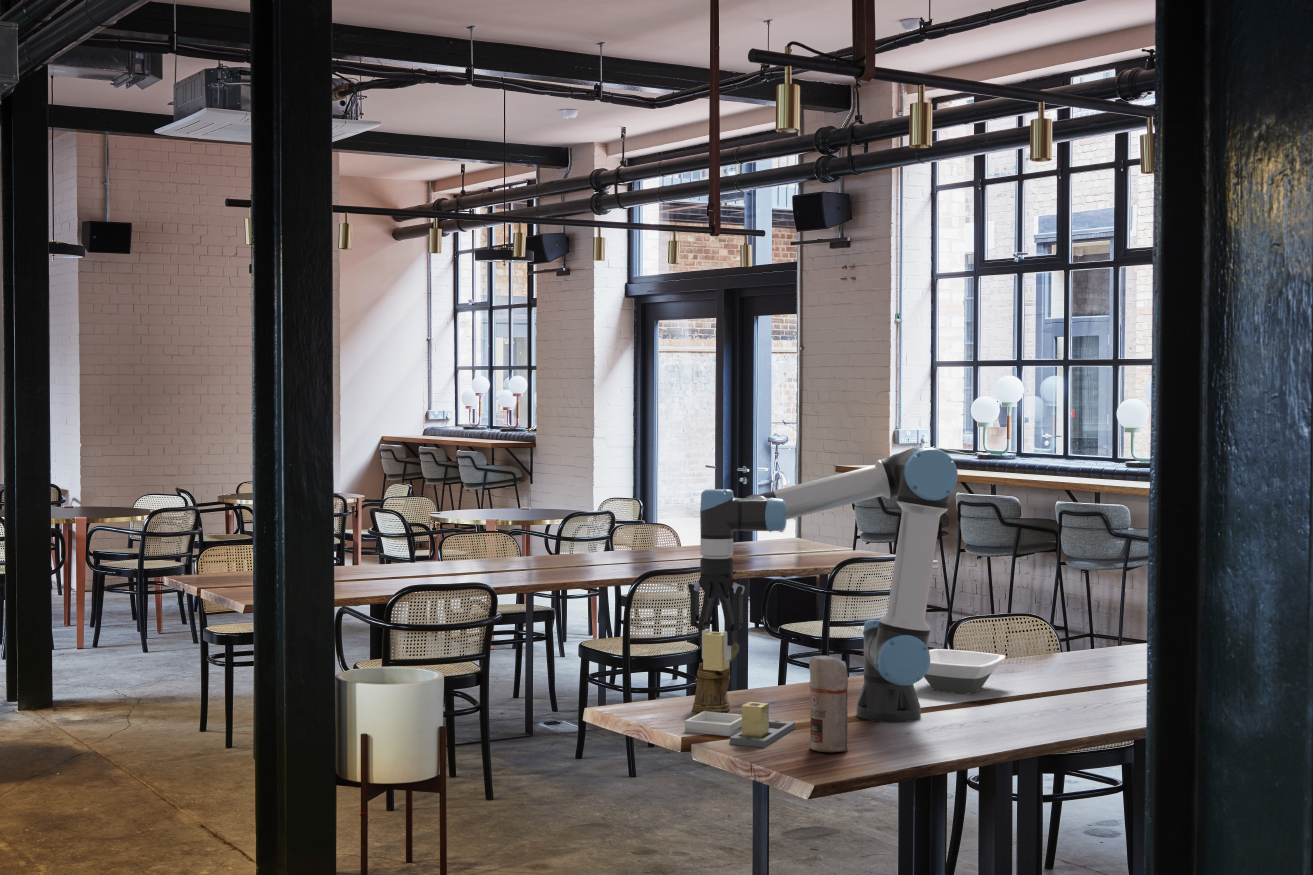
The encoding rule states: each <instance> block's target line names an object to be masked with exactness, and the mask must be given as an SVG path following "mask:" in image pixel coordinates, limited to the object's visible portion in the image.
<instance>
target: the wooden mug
mask: <svg viewBox="0 0 1313 875" xmlns="http://www.w3.org/2000/svg"><path fill="white" fill-rule="evenodd" d="M739 652H740V644H739V643H738V642H736V641H735V643H734V645H733V646H731V659H730V663H731V662H733V660H735V658H736V657H737V655H738V653H739ZM696 676H697V680H696V686H695V687H696V688H695V692H694V693H695V694H694V702H693V705H692V708H691V710H692V711H693V712H695V713H698V714H699V713H701V712H703V711H708V712H718V713H728V712H730V710H731V703H730V701H729V697H728V690H729V685H730V682H731V671H730V668H728V669H725V670H723V671H715V670H704V669H703V662H700V663H699V665H698V669H697V672H696Z"/></svg>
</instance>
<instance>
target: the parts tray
mask: <svg viewBox="0 0 1313 875" xmlns="http://www.w3.org/2000/svg"><path fill="white" fill-rule="evenodd" d="M740 731H742V714H737V713H728V712H725V713H718V712H708V711H703V712H701V713H699V712H698V714H696V715H692V717H689V718H688V719H686V720H684V732H686V733H695V734H696V733H697V734H705V735H715V736H722V737H723V736H724V737H731V736H733V735H735V734H737V733H738V732H740Z"/></svg>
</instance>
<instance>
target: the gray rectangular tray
mask: <svg viewBox="0 0 1313 875" xmlns="http://www.w3.org/2000/svg"><path fill="white" fill-rule="evenodd" d="M795 729H796V722H795V721H786V720H777V719H776V720H774V719H769V736H767V737H765V738H764V739H762V738H752V737H743V736H742V730H741V731H739V732H737V733H735V734H734V735H732V736H729V744H730V745H739V746H744V747H745V746H746V747H755V748H765V749H766V747H768V746H770V745H772V743H774V742H776V741H778V739H781V738H782V737H784V736H786V735H787V734H788V733H790V732H792V731H794V730H795Z"/></svg>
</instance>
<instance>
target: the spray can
mask: <svg viewBox="0 0 1313 875" xmlns="http://www.w3.org/2000/svg"><path fill="white" fill-rule="evenodd" d="M808 669H809V689H810V691H809V692H810V695H809V696H810V699H809V700H810V701H809V702H810V704H809V705H810V706H809V707H810V713H809V715H810V716H809V717H810V736H809V737H810V744H809V747H808V748H809V749H810V750H811V751H816V752H818V753H819V752H820V753H838V752H847V751H848V750H849V748H848V722H849V721H848V718H849V717H848V716H849V715H848V714H849V713H848V712H849V711H848V706H849V705H848V695H849V694H848V686H849V680H848V679H849V678H848V670H847V669H848V668H847V663H846V661H845V660H841V659H840V658H838V657H834V656H829V655H814V656H811V658H810V660H809V668H808Z"/></svg>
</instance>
